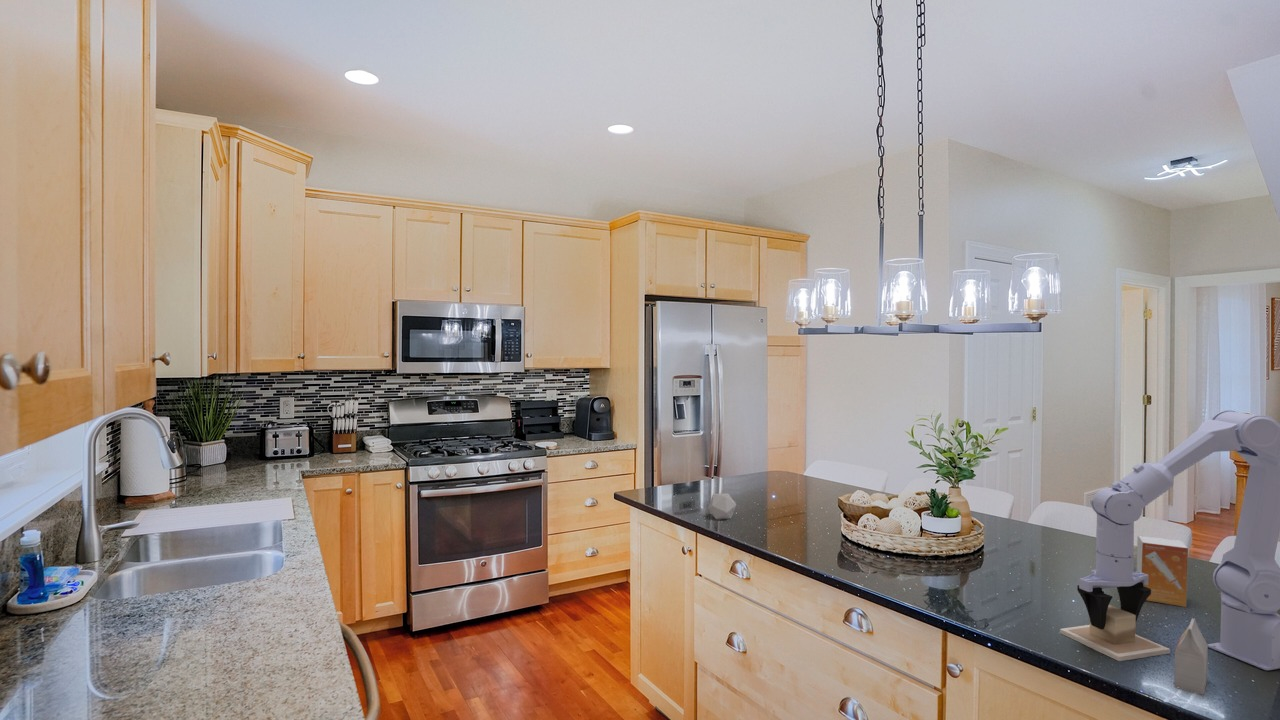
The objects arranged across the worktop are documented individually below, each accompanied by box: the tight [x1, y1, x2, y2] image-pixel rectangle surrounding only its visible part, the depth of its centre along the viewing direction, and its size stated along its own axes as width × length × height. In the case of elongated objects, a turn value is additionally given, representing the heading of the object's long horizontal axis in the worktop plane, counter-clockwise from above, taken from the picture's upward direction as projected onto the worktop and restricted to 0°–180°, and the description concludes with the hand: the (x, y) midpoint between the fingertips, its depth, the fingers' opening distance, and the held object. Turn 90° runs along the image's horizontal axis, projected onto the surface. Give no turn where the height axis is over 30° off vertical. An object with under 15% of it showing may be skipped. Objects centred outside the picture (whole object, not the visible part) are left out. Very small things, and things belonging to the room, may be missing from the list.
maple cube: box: [1089, 604, 1137, 645], centre depth 124 cm, size 5×5×5 cm
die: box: [707, 493, 737, 521], centre depth 213 cm, size 8×9×10 cm
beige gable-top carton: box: [1173, 617, 1209, 696], centre depth 109 cm, size 4×7×10 cm, turn 136°
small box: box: [1136, 535, 1189, 608], centre depth 145 cm, size 8×6×13 cm
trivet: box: [1059, 624, 1171, 662], centre depth 124 cm, size 12×12×1 cm
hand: (1113, 624), depth 124 cm, fingers open, 7 cm apart
